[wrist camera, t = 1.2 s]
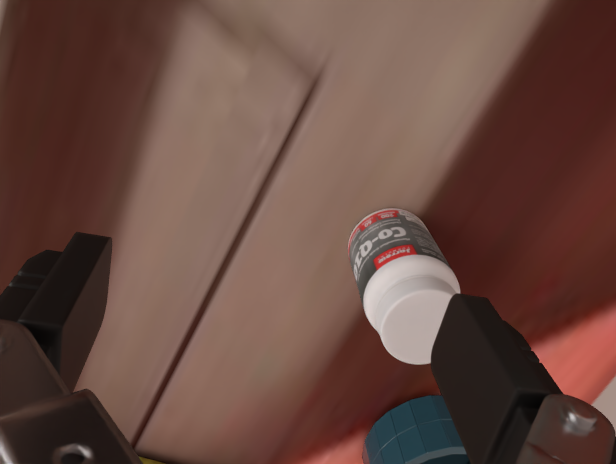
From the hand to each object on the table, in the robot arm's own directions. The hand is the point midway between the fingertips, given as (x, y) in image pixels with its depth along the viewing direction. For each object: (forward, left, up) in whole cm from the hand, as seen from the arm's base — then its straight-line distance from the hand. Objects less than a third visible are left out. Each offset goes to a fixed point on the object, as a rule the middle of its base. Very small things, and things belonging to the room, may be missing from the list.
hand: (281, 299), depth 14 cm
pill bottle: (+7, +7, -18) cm, 21 cm away
